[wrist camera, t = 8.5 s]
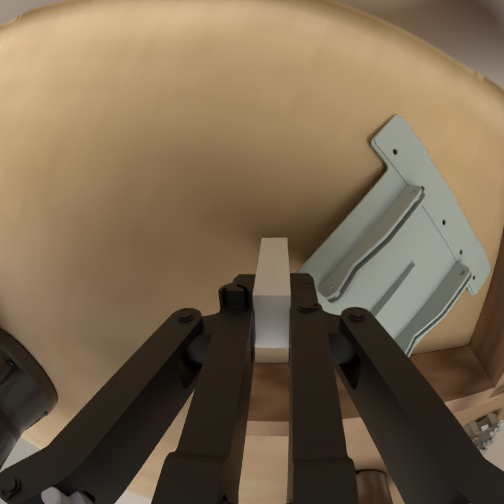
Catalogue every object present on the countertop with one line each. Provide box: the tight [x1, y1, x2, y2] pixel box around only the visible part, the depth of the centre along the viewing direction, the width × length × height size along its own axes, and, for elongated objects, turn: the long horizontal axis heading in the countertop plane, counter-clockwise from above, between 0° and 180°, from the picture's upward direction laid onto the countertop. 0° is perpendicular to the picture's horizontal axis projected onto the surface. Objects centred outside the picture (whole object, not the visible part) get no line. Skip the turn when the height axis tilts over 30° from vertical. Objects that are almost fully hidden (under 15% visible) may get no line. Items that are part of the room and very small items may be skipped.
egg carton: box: [463, 412, 504, 456], centre depth 26 cm, size 11×8×4 cm
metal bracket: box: [296, 114, 490, 357], centre depth 18 cm, size 14×6×15 cm
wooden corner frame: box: [246, 230, 504, 436], centre depth 16 cm, size 23×20×6 cm
